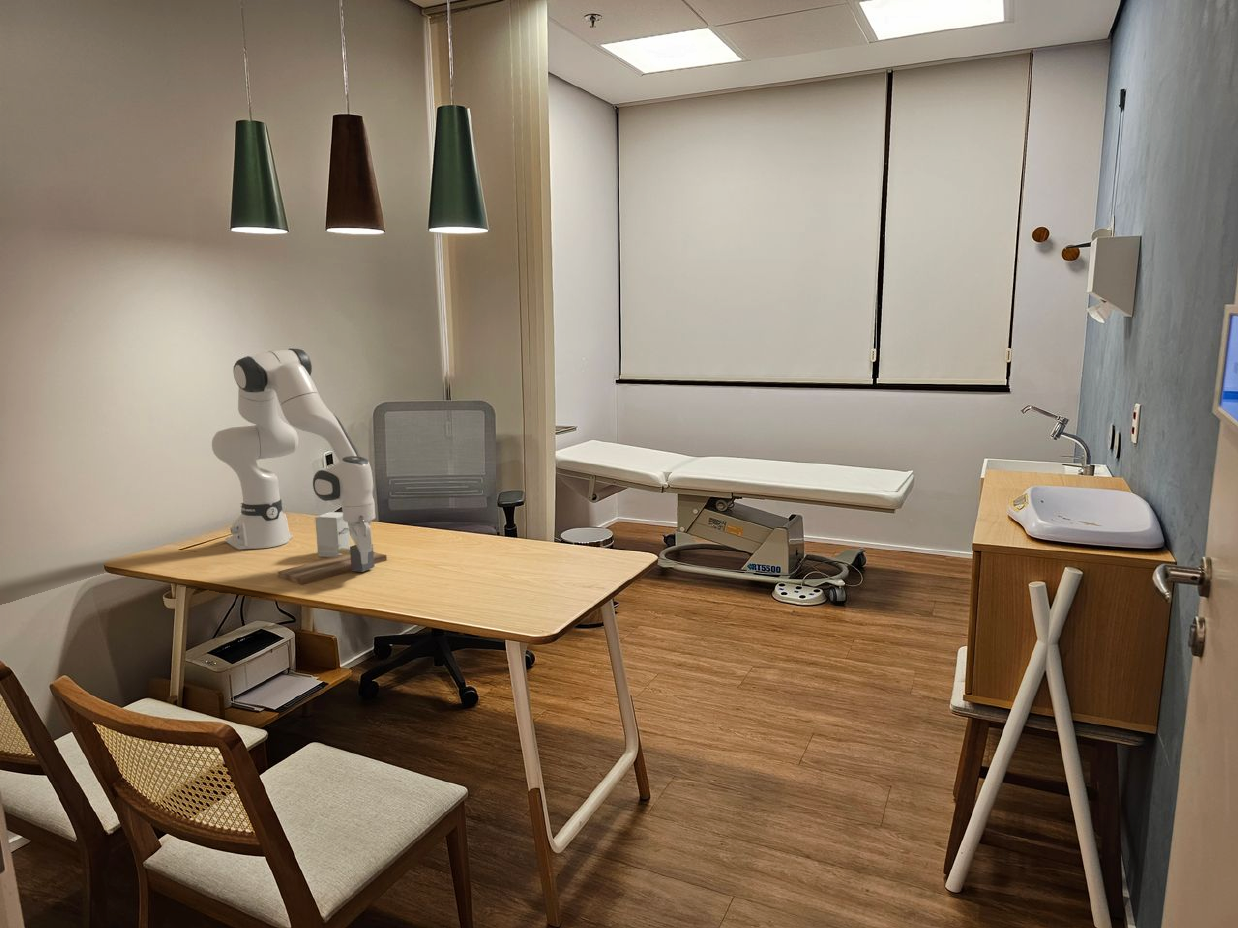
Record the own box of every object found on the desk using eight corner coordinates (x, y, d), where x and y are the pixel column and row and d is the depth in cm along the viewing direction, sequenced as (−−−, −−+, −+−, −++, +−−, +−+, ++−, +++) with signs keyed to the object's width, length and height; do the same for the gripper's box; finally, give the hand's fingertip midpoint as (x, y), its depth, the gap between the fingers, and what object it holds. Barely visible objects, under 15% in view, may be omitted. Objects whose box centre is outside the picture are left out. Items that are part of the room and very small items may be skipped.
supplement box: (339, 557, 248) (336, 517, 246) (317, 556, 249) (314, 516, 247) (351, 551, 255) (348, 512, 253) (330, 550, 256) (327, 511, 254)
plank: (278, 576, 230) (277, 571, 229) (362, 553, 251) (362, 548, 251) (301, 584, 222) (301, 578, 222) (386, 560, 244) (386, 554, 244)
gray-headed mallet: (335, 568, 235) (333, 544, 233) (347, 563, 239) (346, 540, 238) (362, 571, 231) (360, 548, 229) (374, 567, 235) (372, 543, 234)
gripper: (376, 519, 223) (379, 567, 225) (365, 505, 241) (368, 549, 244) (352, 522, 220) (355, 571, 223) (343, 507, 239) (346, 552, 241)
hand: (362, 559), depth 233 cm, fingers closed on gray-headed mallet, 6 cm apart
